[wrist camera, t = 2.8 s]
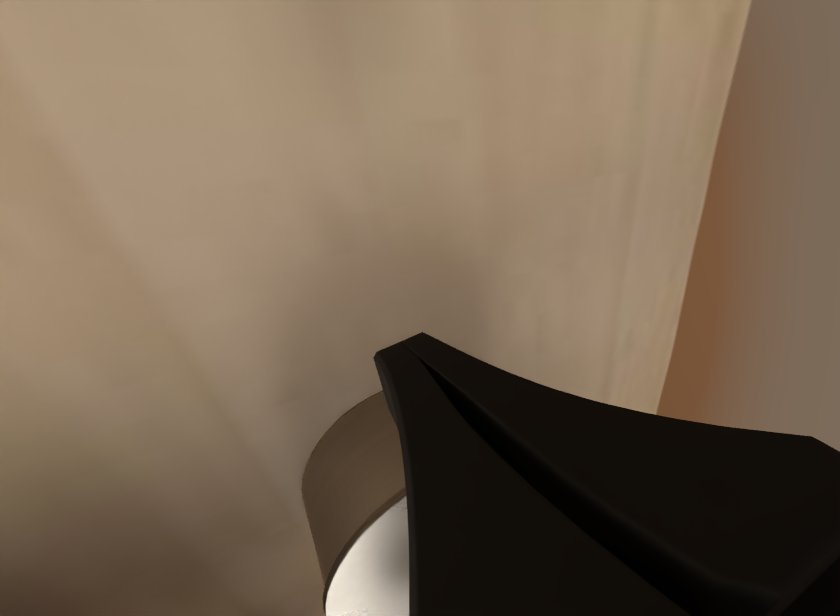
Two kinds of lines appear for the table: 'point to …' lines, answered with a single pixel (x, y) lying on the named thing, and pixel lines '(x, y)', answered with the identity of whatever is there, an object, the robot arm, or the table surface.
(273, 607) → the table surface
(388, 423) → the steel pot
